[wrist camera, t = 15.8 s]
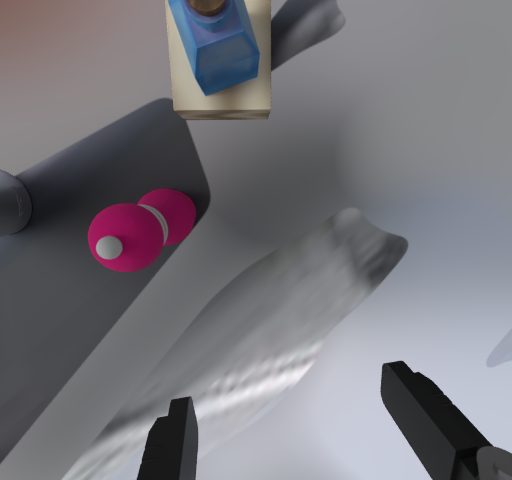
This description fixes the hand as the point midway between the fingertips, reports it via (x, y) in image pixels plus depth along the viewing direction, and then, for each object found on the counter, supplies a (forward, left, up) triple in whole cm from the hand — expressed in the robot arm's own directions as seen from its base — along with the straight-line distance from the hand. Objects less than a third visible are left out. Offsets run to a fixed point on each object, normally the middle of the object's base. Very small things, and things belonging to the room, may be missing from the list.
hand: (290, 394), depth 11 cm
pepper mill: (-12, +4, -30) cm, 33 cm away
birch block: (-3, +22, -31) cm, 37 cm away
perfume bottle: (-3, +21, -25) cm, 33 cm away
